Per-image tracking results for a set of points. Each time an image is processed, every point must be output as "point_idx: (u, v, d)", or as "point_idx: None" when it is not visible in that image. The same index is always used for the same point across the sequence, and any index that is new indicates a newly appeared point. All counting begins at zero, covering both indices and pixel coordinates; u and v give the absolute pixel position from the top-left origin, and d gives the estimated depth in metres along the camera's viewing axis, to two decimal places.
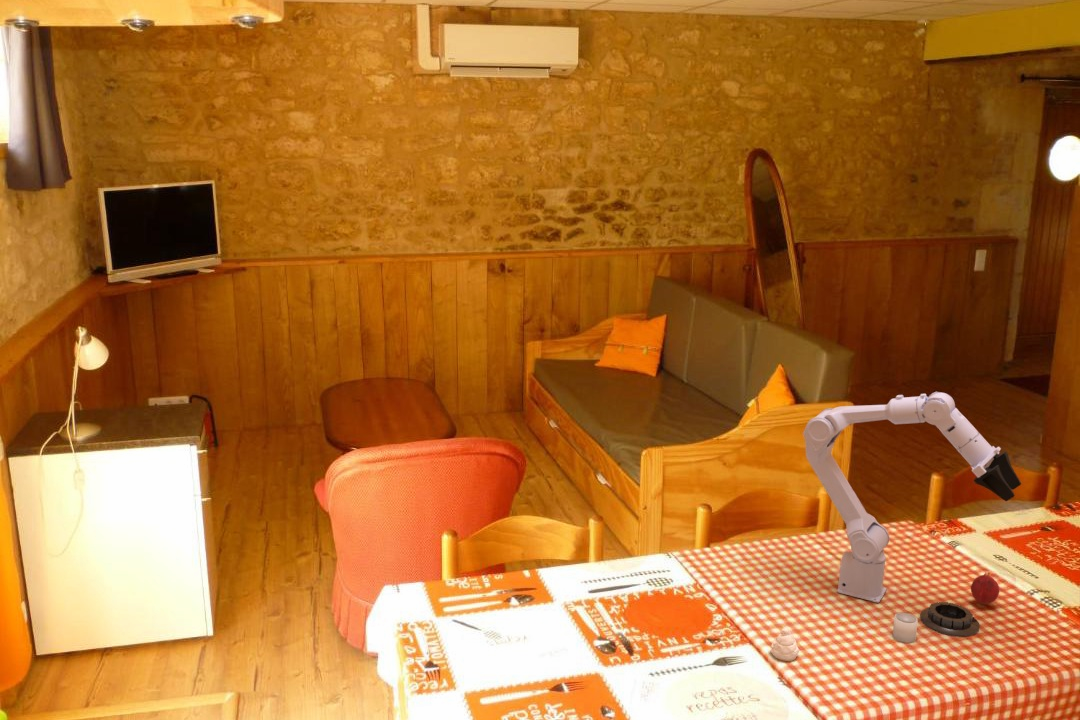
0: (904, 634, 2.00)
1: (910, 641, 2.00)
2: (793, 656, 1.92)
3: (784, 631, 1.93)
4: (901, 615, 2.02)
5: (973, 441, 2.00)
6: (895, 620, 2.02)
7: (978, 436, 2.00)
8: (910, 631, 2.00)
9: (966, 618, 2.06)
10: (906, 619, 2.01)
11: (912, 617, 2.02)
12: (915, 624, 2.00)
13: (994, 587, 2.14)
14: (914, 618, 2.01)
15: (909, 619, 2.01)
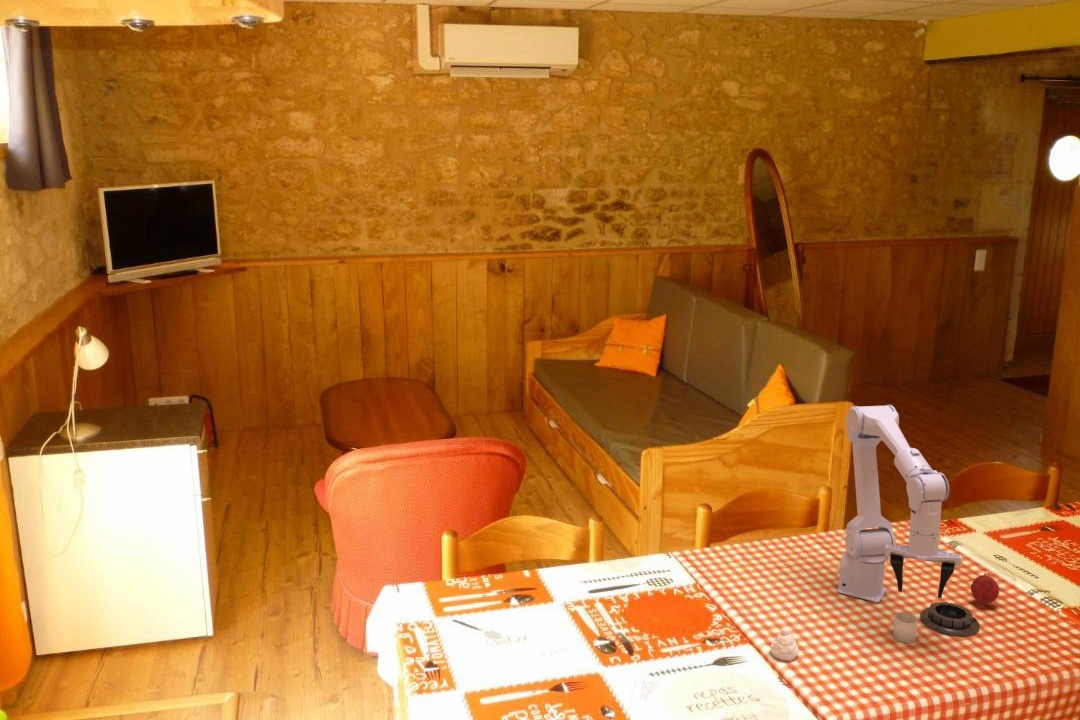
0: (904, 634, 2.00)
1: (910, 641, 2.00)
2: (793, 656, 1.92)
3: (784, 631, 1.93)
4: (901, 615, 2.02)
5: (911, 533, 1.96)
6: (895, 620, 2.02)
7: (919, 535, 1.95)
8: (910, 631, 2.00)
9: (966, 618, 2.06)
10: (906, 619, 2.01)
11: (912, 617, 2.01)
12: (915, 624, 2.00)
13: (994, 587, 2.14)
14: (914, 618, 2.01)
15: (909, 619, 2.01)
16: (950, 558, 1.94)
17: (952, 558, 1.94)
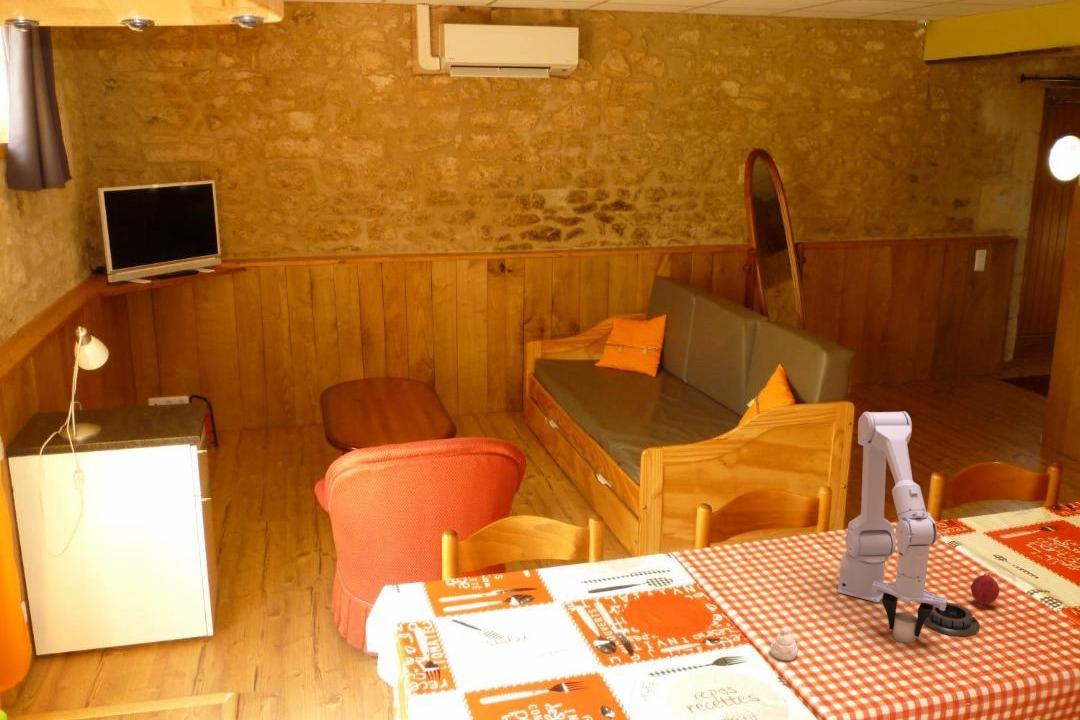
0: (904, 634, 2.00)
1: (910, 641, 2.00)
2: (792, 656, 1.93)
3: (783, 631, 1.93)
4: (901, 615, 2.02)
5: (898, 574, 1.99)
6: (895, 620, 2.02)
7: (904, 577, 1.97)
8: (910, 631, 2.00)
9: (966, 618, 2.06)
10: (906, 619, 2.01)
11: (912, 617, 2.01)
12: (915, 624, 2.00)
13: (994, 587, 2.14)
14: (914, 618, 2.01)
15: (909, 619, 2.01)
16: (934, 601, 1.96)
17: (936, 602, 1.96)
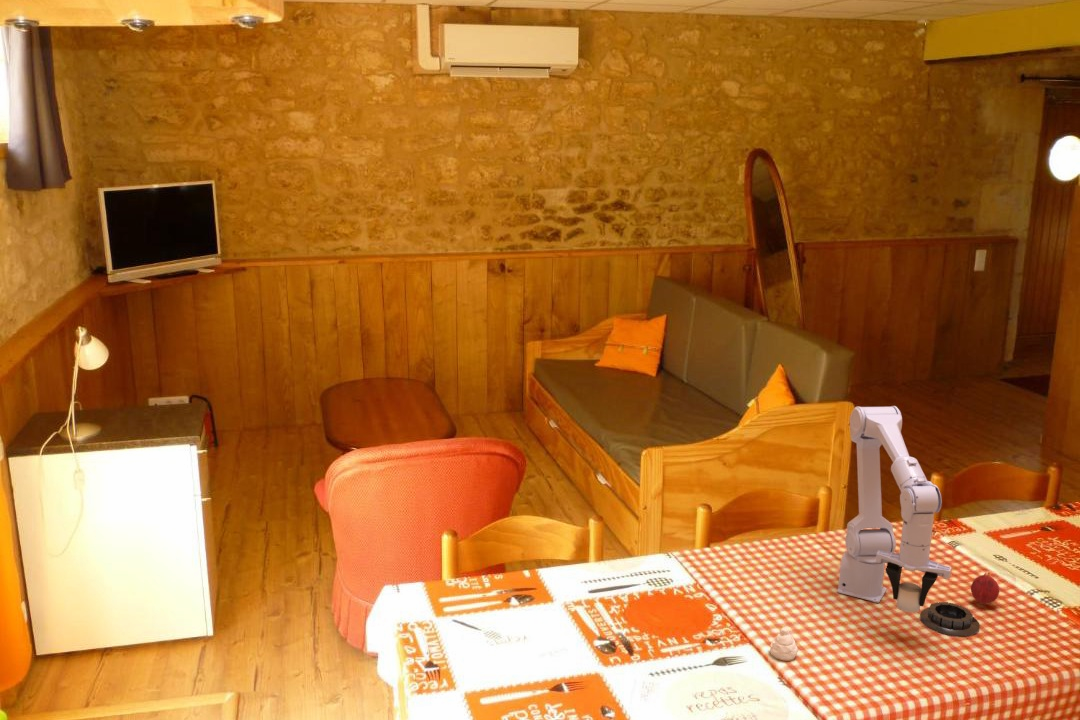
0: (908, 603, 1.99)
1: (914, 611, 1.99)
2: (792, 656, 1.93)
3: (783, 631, 1.93)
4: (905, 585, 2.01)
5: (902, 542, 1.97)
6: (899, 590, 2.00)
7: (908, 545, 1.96)
8: (914, 600, 1.98)
9: (966, 618, 2.06)
10: (910, 588, 1.99)
11: (916, 587, 2.00)
12: (919, 593, 1.98)
13: (994, 587, 2.14)
14: (918, 588, 2.00)
15: (913, 588, 1.99)
16: (939, 570, 1.95)
17: (941, 570, 1.95)
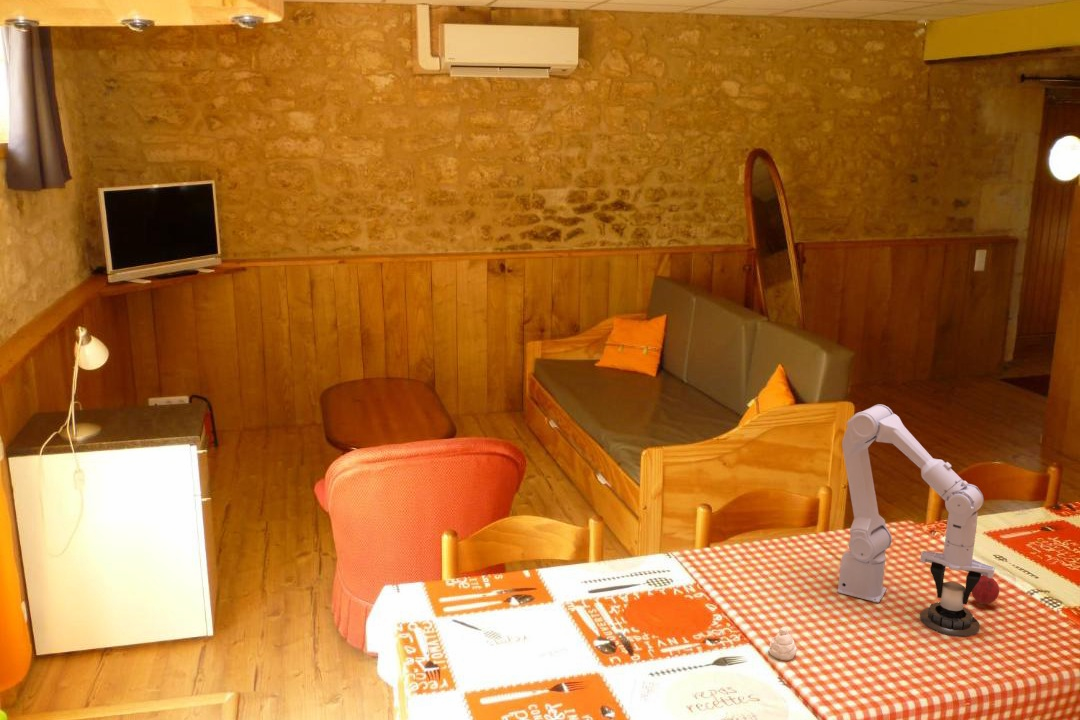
0: (951, 602, 2.05)
1: (957, 609, 2.06)
2: (791, 655, 1.93)
3: (782, 630, 1.93)
4: (949, 584, 2.07)
5: (946, 543, 2.04)
6: (943, 588, 2.07)
7: (953, 546, 2.03)
8: (958, 599, 2.05)
9: (966, 618, 2.06)
10: (954, 588, 2.06)
11: (960, 586, 2.07)
12: (963, 592, 2.05)
13: (994, 587, 2.14)
14: (962, 587, 2.06)
15: (957, 588, 2.06)
16: (983, 569, 2.02)
17: (985, 569, 2.02)
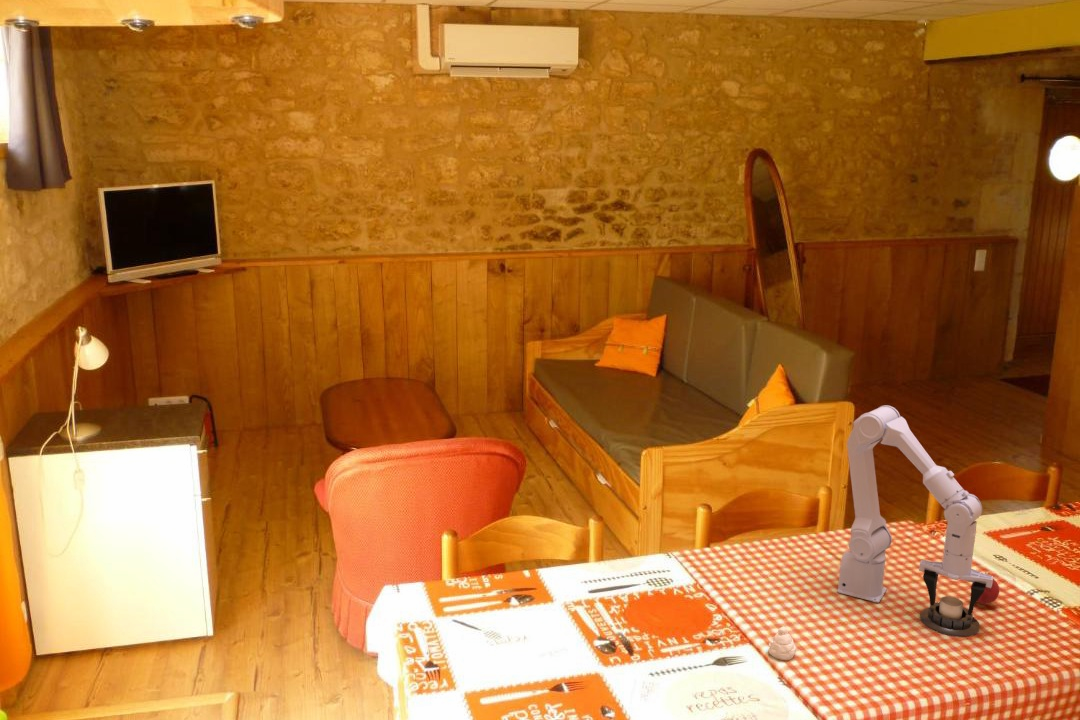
0: (949, 616, 2.06)
1: None
2: (790, 655, 1.93)
3: (781, 630, 1.93)
4: (947, 598, 2.08)
5: (945, 552, 2.05)
6: (941, 603, 2.08)
7: (951, 555, 2.03)
8: (955, 614, 2.06)
9: (966, 618, 2.06)
10: (951, 602, 2.07)
11: (957, 600, 2.07)
12: (960, 607, 2.06)
13: (994, 587, 2.14)
14: (959, 601, 2.07)
15: (954, 602, 2.07)
16: (981, 579, 2.02)
17: (983, 579, 2.02)
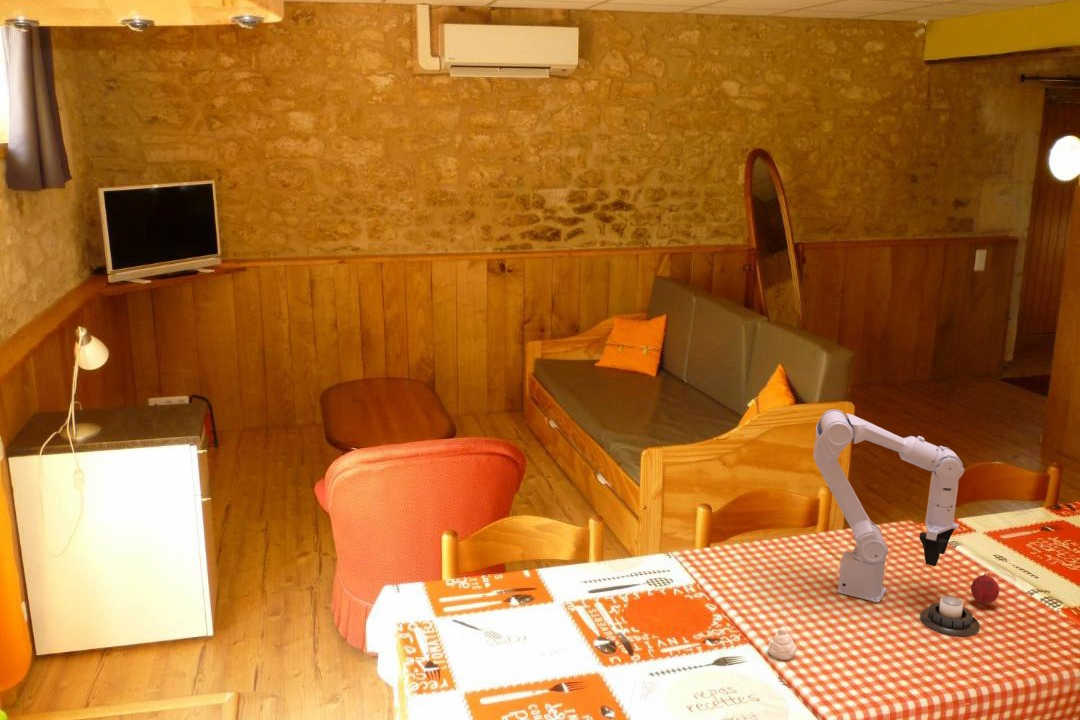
0: (949, 616, 2.06)
1: None
2: (790, 655, 1.93)
3: (781, 630, 1.93)
4: (947, 598, 2.08)
5: (947, 509, 2.11)
6: (941, 603, 2.08)
7: (953, 507, 2.12)
8: (955, 614, 2.06)
9: (966, 618, 2.06)
10: (951, 602, 2.07)
11: (957, 600, 2.07)
12: (960, 607, 2.06)
13: (994, 587, 2.14)
14: (959, 601, 2.07)
15: (954, 602, 2.07)
16: None
17: None
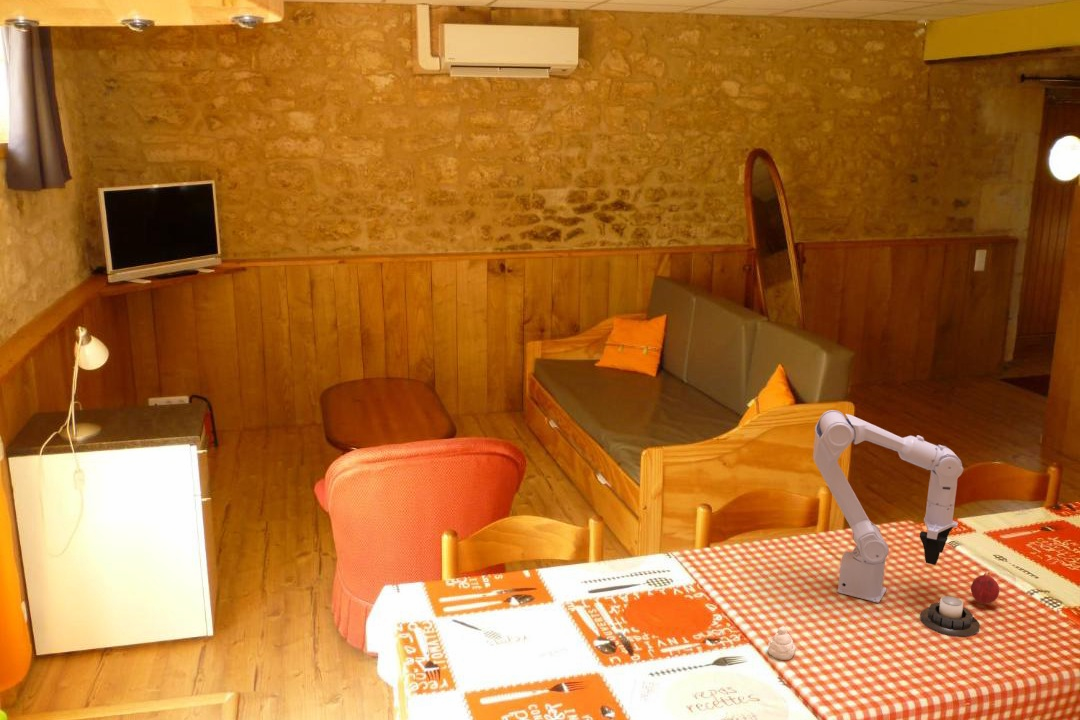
0: (949, 616, 2.06)
1: None
2: (790, 655, 1.93)
3: (781, 630, 1.94)
4: (947, 598, 2.08)
5: (946, 508, 2.12)
6: (941, 603, 2.08)
7: (952, 506, 2.13)
8: (955, 614, 2.06)
9: (966, 618, 2.06)
10: (952, 602, 2.07)
11: (958, 601, 2.07)
12: (960, 607, 2.06)
13: (994, 587, 2.14)
14: (959, 602, 2.07)
15: (955, 602, 2.07)
16: None
17: None
